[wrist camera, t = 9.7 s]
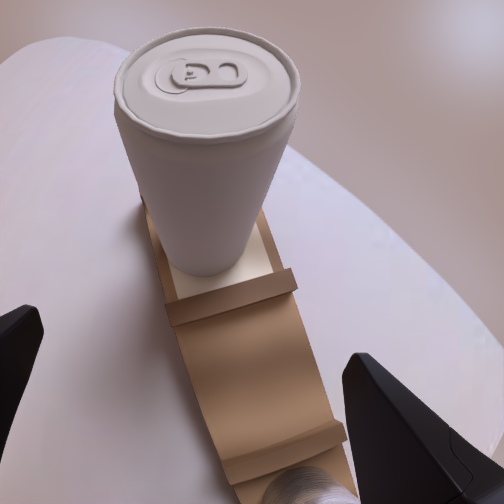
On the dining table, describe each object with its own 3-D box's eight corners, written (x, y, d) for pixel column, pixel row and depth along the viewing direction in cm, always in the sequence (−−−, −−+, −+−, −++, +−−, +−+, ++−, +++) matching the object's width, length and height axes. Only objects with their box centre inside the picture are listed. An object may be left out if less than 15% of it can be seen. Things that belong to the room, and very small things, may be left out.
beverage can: (163, 204, 18) (126, 30, 6) (241, 199, 19) (286, 28, 7) (164, 282, 16) (89, 155, 5) (249, 276, 17) (328, 146, 6)
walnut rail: (354, 507, 15) (371, 522, 12) (263, 544, 13) (271, 564, 11) (242, 174, 21) (247, 152, 18) (144, 198, 19) (136, 178, 17)
